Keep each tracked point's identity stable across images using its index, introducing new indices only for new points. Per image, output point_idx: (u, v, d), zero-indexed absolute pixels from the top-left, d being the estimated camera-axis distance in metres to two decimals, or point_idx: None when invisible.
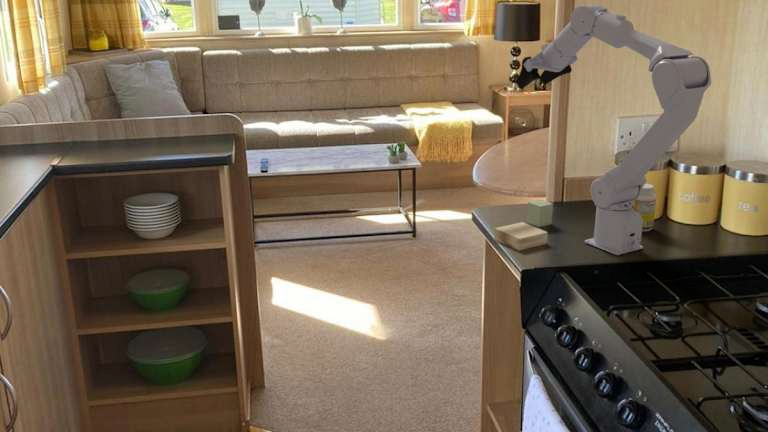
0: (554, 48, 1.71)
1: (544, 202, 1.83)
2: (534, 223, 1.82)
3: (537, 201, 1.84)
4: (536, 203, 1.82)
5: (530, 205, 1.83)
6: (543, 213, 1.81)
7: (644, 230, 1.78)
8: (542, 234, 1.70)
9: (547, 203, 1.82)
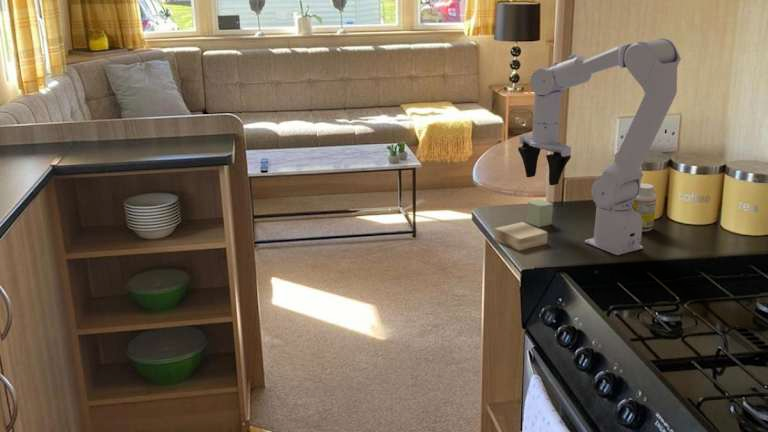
0: (554, 126, 1.74)
1: (544, 202, 1.83)
2: (534, 223, 1.82)
3: (537, 201, 1.84)
4: (536, 203, 1.82)
5: (530, 204, 1.83)
6: (543, 213, 1.81)
7: (644, 230, 1.78)
8: (542, 234, 1.70)
9: (547, 203, 1.82)
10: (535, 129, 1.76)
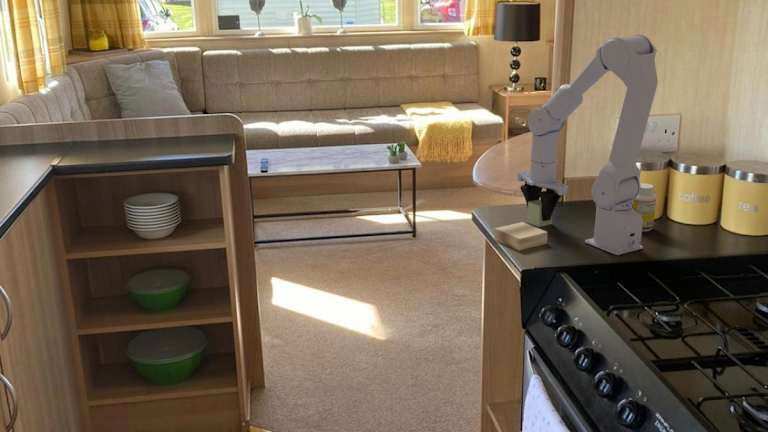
0: (551, 165, 1.77)
1: None
2: (534, 223, 1.82)
3: (537, 201, 1.84)
4: (536, 203, 1.82)
5: (531, 204, 1.83)
6: None
7: (644, 230, 1.78)
8: (542, 233, 1.70)
9: None
10: (533, 167, 1.78)
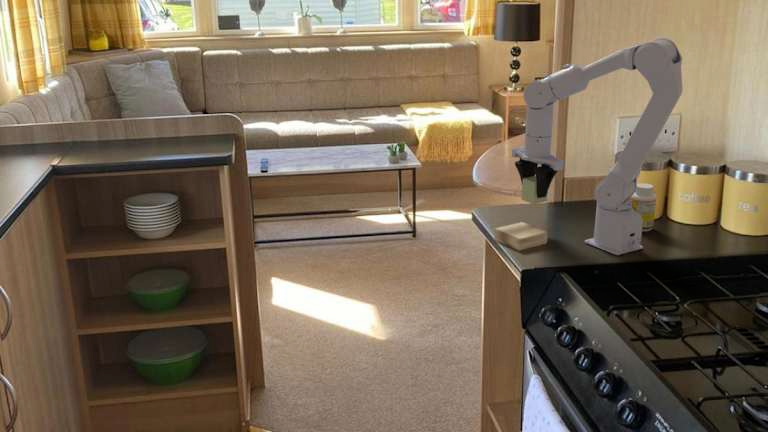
0: (546, 139, 1.71)
1: None
2: (529, 200, 1.76)
3: (532, 177, 1.77)
4: (531, 179, 1.76)
5: (525, 181, 1.76)
6: None
7: (644, 230, 1.78)
8: (542, 233, 1.70)
9: None
10: (527, 142, 1.72)
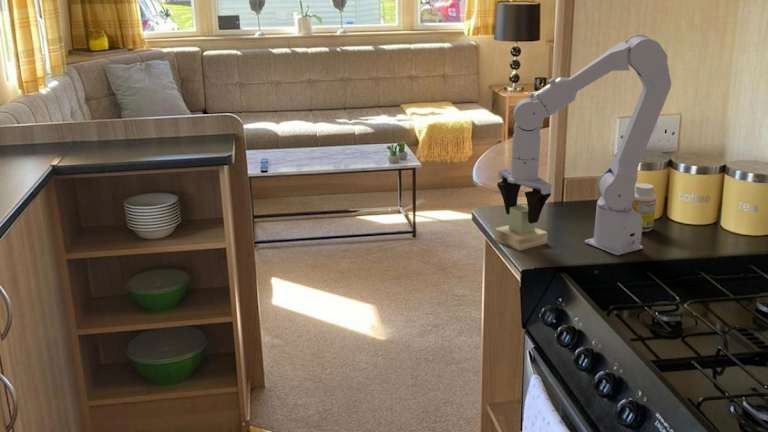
0: (533, 161, 1.64)
1: (527, 207, 1.71)
2: (516, 230, 1.70)
3: (520, 206, 1.71)
4: (519, 208, 1.70)
5: (512, 210, 1.70)
6: (526, 219, 1.69)
7: (644, 230, 1.78)
8: (542, 234, 1.70)
9: None
10: (514, 164, 1.66)
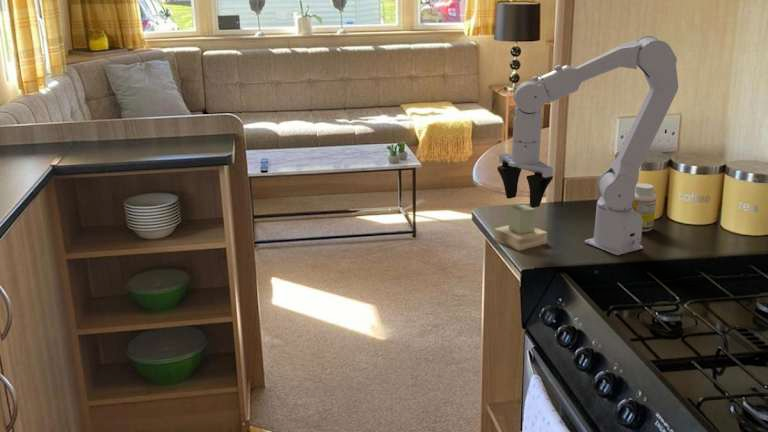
0: (535, 144, 1.63)
1: (526, 207, 1.71)
2: (515, 229, 1.70)
3: (519, 206, 1.71)
4: (518, 208, 1.70)
5: (511, 209, 1.70)
6: (524, 218, 1.69)
7: (644, 230, 1.78)
8: (542, 234, 1.70)
9: (529, 208, 1.70)
10: (515, 147, 1.64)
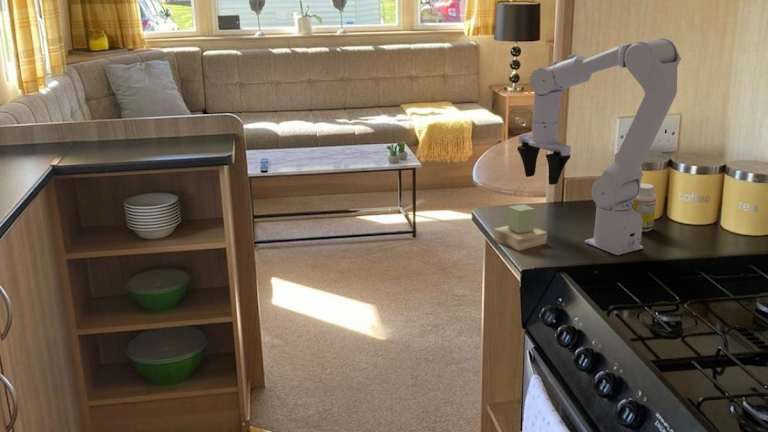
0: (553, 125, 1.74)
1: (526, 206, 1.71)
2: (514, 229, 1.70)
3: (519, 206, 1.72)
4: (517, 207, 1.70)
5: (511, 209, 1.71)
6: (523, 218, 1.69)
7: (644, 230, 1.78)
8: (541, 234, 1.70)
9: (528, 208, 1.70)
10: (535, 128, 1.76)
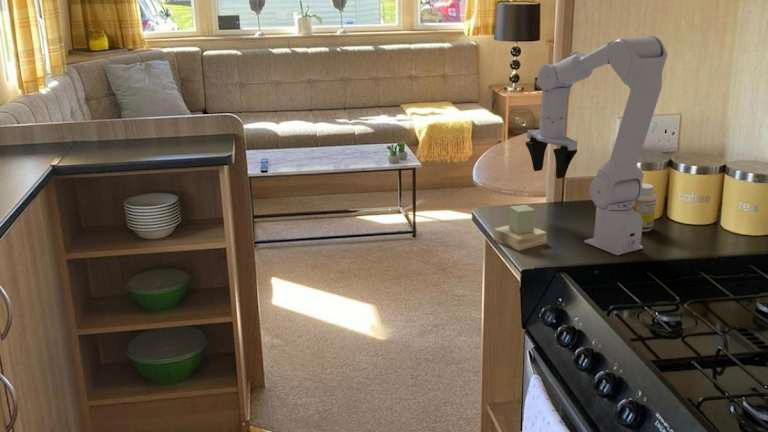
0: (561, 120, 1.79)
1: (526, 207, 1.70)
2: (514, 229, 1.70)
3: (520, 206, 1.71)
4: (517, 208, 1.70)
5: (511, 209, 1.71)
6: (522, 219, 1.69)
7: (644, 230, 1.78)
8: (541, 234, 1.70)
9: (529, 209, 1.69)
10: (543, 123, 1.81)
